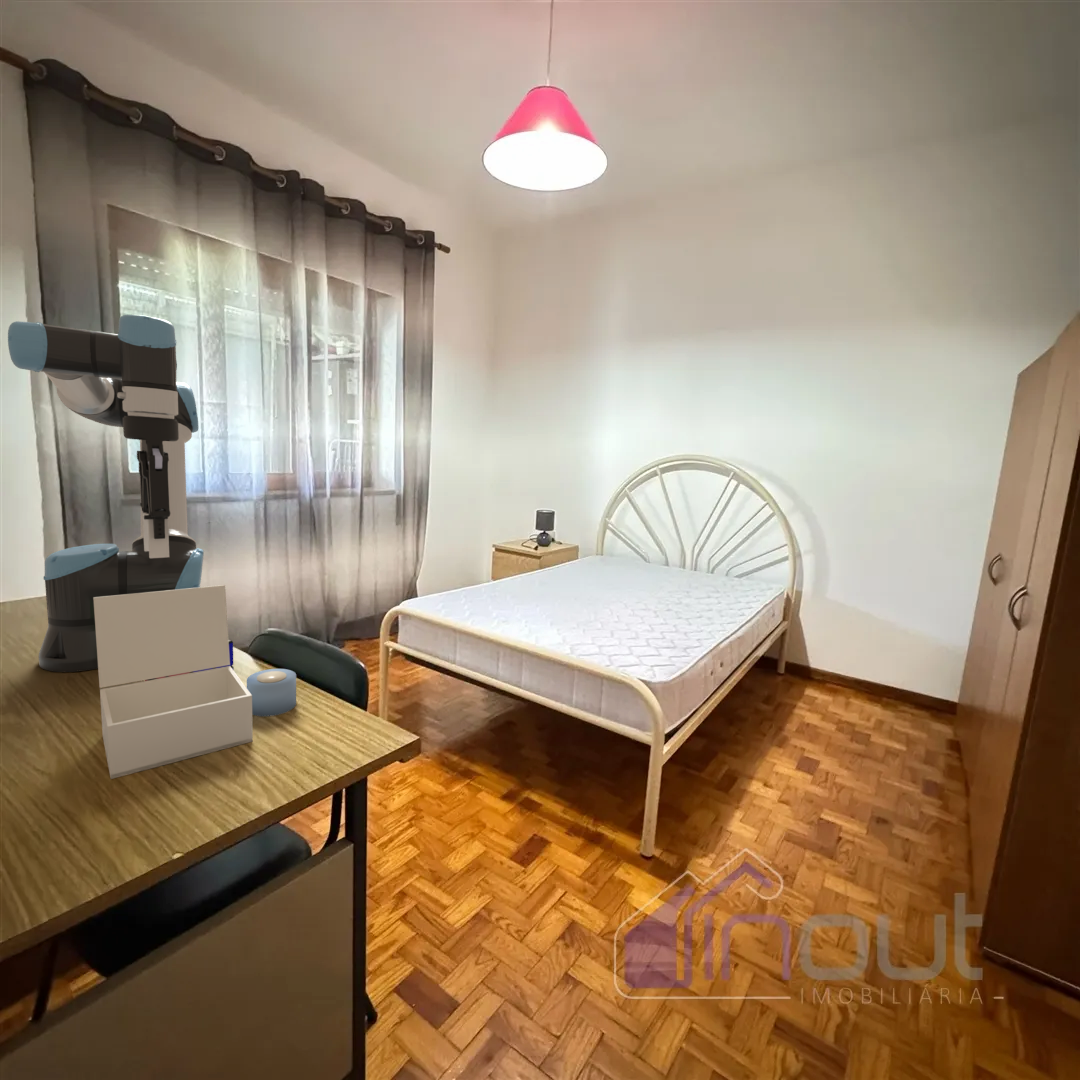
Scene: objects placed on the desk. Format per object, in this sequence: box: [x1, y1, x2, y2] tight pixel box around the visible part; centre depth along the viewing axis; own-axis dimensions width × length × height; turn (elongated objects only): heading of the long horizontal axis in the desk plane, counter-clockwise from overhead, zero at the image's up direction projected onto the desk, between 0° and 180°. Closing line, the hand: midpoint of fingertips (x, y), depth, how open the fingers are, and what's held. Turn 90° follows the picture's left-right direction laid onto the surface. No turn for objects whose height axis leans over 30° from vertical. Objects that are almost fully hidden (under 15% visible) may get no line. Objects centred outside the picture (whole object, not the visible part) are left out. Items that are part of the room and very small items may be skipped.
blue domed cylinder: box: [246, 668, 297, 717], centre depth 101 cm, size 8×8×6 cm
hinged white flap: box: [93, 584, 230, 689], centre depth 92 cm, size 14×18×1 cm
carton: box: [99, 666, 254, 780], centre depth 88 cm, size 14×18×8 cm
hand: (156, 553), depth 96 cm, fingers open, 6 cm apart
